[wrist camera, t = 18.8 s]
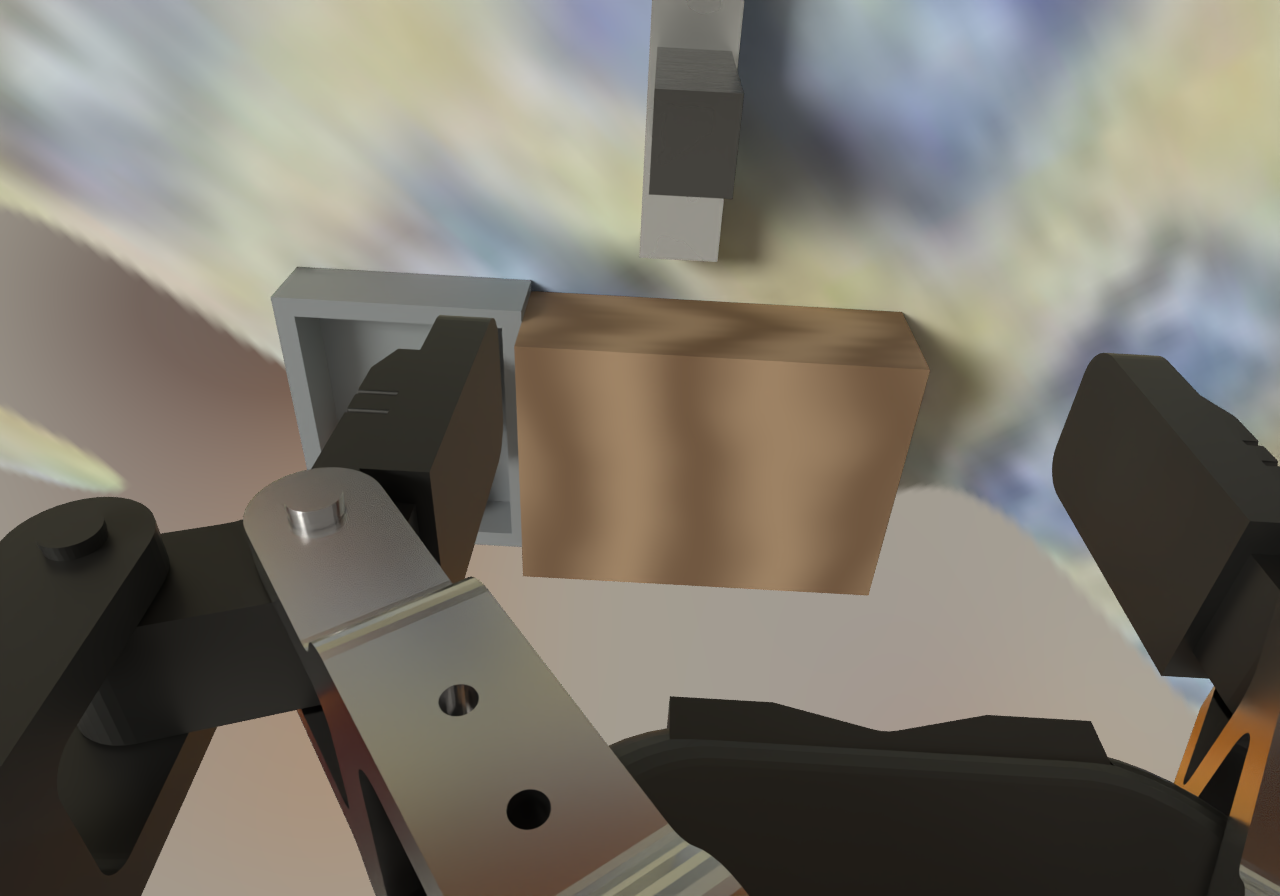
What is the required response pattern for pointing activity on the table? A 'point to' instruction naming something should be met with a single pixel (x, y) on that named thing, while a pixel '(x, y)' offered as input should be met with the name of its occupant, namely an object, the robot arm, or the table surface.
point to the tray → (373, 329)
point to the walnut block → (711, 440)
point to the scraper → (690, 126)
